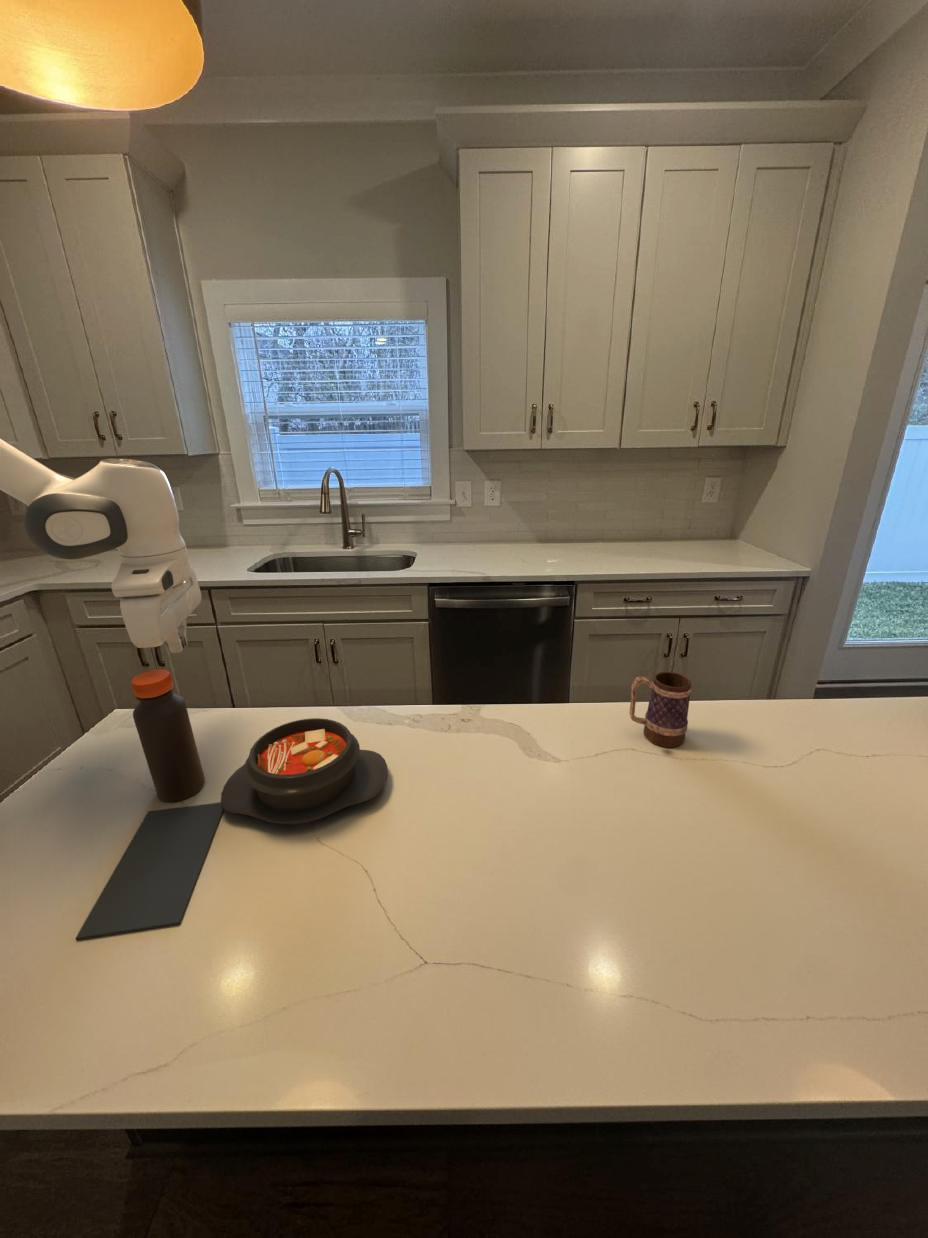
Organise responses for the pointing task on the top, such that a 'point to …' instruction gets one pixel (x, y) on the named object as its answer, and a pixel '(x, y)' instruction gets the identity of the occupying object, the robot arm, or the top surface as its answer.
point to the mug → (664, 708)
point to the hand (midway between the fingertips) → (179, 649)
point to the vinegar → (166, 736)
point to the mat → (155, 872)
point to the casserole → (304, 773)
